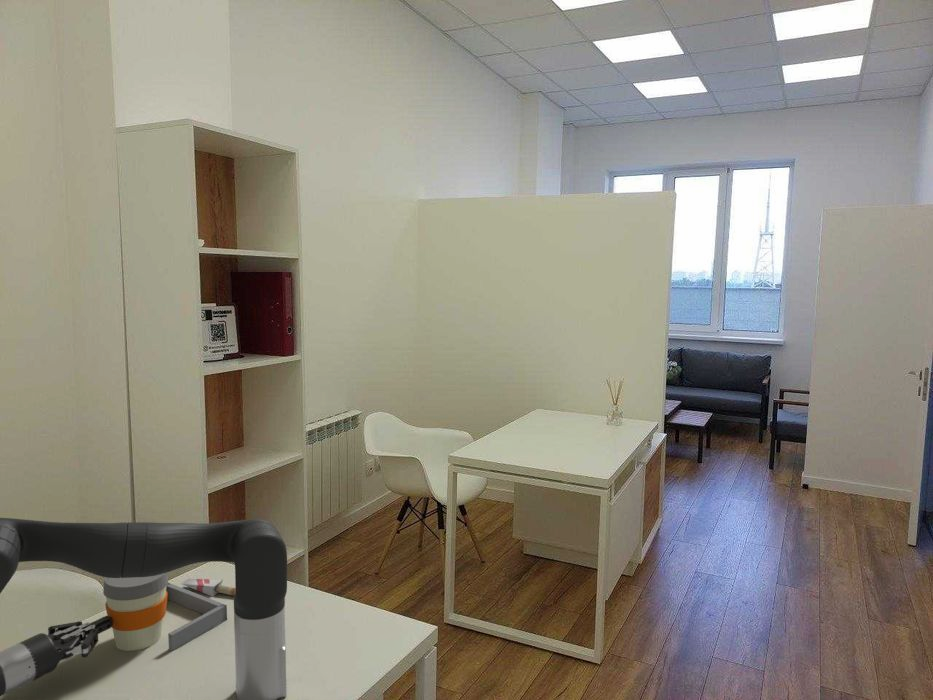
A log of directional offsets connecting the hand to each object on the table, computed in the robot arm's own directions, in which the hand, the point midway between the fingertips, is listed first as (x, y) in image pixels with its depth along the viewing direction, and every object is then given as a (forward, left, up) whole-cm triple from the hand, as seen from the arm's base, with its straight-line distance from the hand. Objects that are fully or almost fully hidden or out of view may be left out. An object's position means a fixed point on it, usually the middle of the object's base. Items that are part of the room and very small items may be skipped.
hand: (110, 620), depth 139 cm
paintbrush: (-20, -21, -8) cm, 30 cm away
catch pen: (-10, -10, -7) cm, 16 cm away
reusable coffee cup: (-4, -4, -7) cm, 9 cm away
